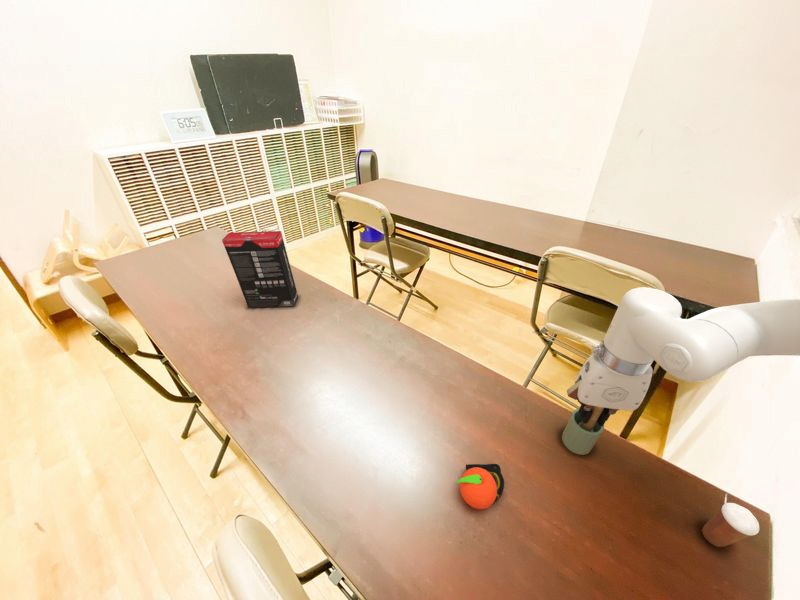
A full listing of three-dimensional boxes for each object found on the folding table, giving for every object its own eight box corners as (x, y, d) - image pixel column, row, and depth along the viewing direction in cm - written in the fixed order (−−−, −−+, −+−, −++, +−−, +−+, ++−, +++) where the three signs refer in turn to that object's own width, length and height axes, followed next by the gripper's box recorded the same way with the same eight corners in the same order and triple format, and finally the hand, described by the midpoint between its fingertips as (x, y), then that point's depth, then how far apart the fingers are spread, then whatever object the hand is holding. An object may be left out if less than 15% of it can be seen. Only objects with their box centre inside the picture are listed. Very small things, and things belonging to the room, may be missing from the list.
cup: (597, 446, 70) (610, 426, 66) (578, 459, 68) (590, 439, 64) (574, 424, 75) (584, 404, 70) (555, 436, 73) (565, 415, 68)
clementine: (454, 514, 61) (457, 498, 57) (451, 476, 66) (454, 459, 62) (497, 516, 60) (503, 500, 56) (490, 477, 66) (496, 460, 62)
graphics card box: (300, 296, 120) (281, 228, 104) (295, 307, 114) (275, 237, 98) (254, 298, 120) (228, 230, 104) (247, 310, 114) (219, 240, 98)
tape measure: (497, 469, 67) (500, 460, 65) (505, 506, 62) (508, 497, 60) (465, 469, 68) (466, 460, 65) (469, 505, 62) (471, 497, 60)
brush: (592, 438, 69) (611, 404, 62) (582, 445, 68) (601, 410, 61) (580, 427, 71) (597, 393, 64) (570, 433, 70) (587, 399, 63)
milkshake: (704, 513, 60) (736, 488, 54) (736, 546, 56) (774, 523, 50) (686, 522, 59) (716, 498, 53) (717, 556, 55) (754, 535, 49)
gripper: (578, 365, 54) (552, 428, 64) (688, 379, 51) (641, 442, 61) (569, 335, 60) (546, 397, 70) (667, 346, 56) (627, 409, 67)
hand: (591, 418), depth 66 cm, fingers closed on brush, 2 cm apart
